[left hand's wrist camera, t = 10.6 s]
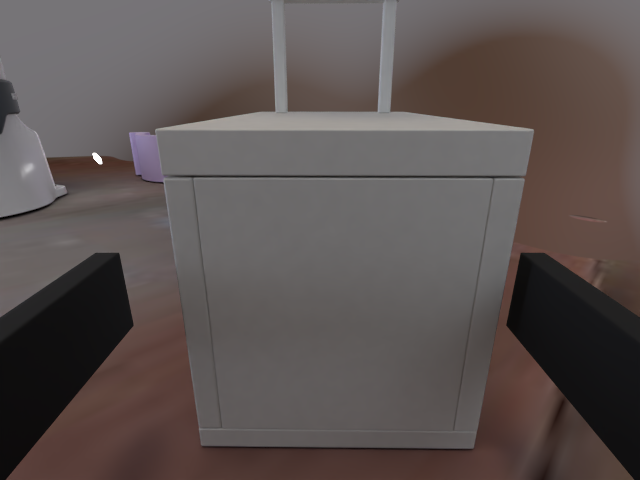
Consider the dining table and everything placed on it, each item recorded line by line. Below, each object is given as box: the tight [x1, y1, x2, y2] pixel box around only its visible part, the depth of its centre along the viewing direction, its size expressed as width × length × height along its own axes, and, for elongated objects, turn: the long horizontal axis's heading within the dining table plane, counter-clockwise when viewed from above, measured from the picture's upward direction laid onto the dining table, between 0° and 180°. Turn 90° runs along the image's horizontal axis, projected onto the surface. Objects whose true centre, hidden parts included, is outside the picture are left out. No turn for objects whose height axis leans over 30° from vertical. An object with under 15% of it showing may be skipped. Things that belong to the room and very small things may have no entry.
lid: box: [156, 0, 534, 176], centre depth 17 cm, size 18×10×9 cm, turn 179°
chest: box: [163, 176, 525, 449], centre depth 20 cm, size 17×10×10 cm, turn 179°
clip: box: [129, 132, 167, 182], centre depth 62 cm, size 20×12×7 cm, turn 58°
